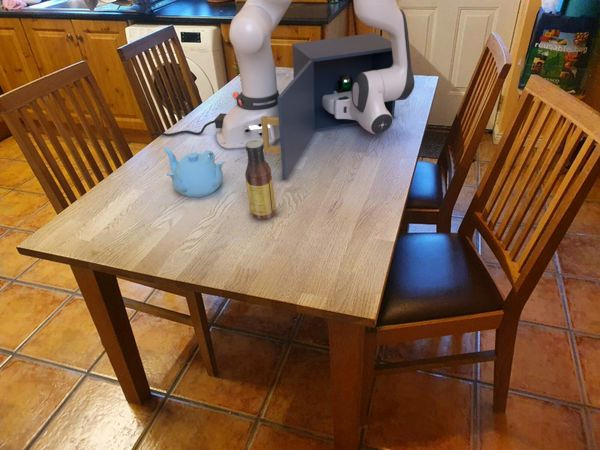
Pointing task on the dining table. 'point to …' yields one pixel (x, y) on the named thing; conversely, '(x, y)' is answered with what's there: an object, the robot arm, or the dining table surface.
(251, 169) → the sauce bottle
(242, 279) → the dining table surface
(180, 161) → the teapot
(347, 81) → the soda can
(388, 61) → the cupboard
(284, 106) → the cupboard door
